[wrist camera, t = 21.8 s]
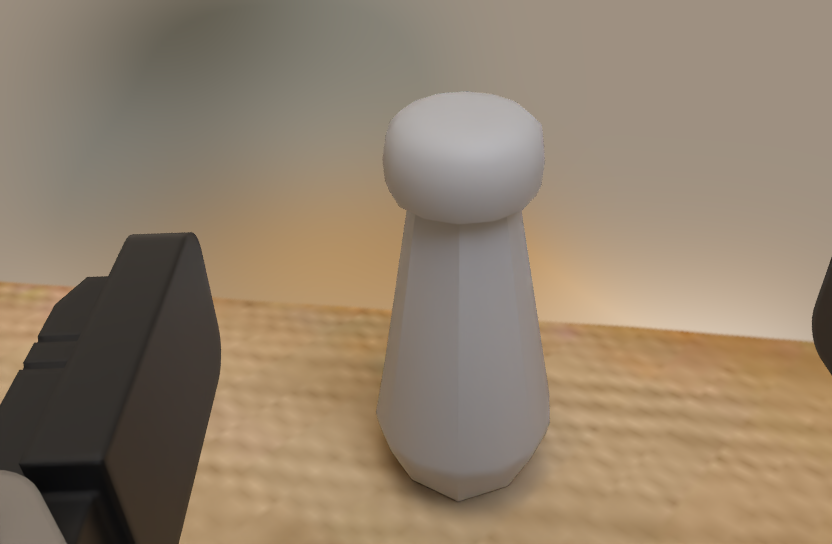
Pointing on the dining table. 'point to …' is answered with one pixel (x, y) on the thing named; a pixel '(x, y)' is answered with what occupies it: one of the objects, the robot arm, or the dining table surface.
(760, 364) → the dining table surface
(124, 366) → the robot arm
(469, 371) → the salt shaker
